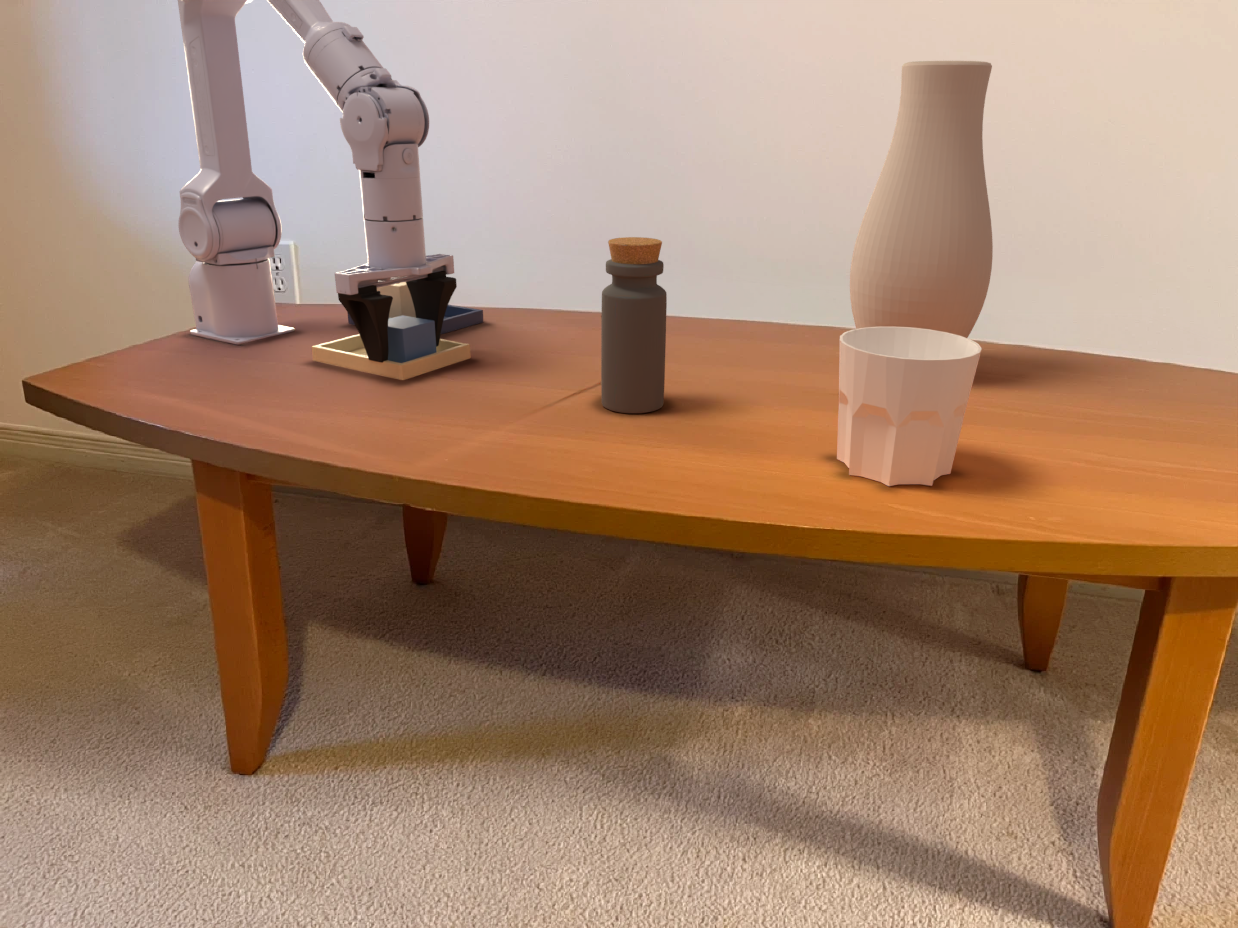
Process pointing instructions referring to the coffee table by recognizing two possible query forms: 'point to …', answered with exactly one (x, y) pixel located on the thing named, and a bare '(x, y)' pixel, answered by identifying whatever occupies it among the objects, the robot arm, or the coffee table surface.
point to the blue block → (410, 338)
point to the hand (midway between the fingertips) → (404, 352)
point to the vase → (929, 208)
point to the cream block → (399, 299)
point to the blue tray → (455, 318)
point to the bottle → (633, 327)
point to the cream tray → (355, 357)
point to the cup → (902, 401)
